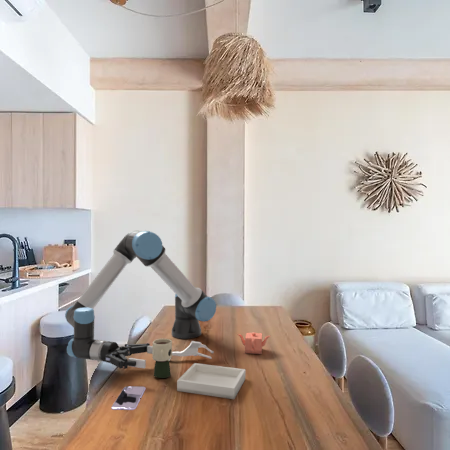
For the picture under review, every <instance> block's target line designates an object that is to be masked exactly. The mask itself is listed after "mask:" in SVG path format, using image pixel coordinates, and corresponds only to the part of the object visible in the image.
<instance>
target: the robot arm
mask: <svg viewBox="0 0 450 450" xmlns="http://www.w3.org/2000/svg"><path fill="white" fill-rule="evenodd" d="M162 241H163V240H162V239H161V237H160V236H159V235H158V234H157V233H154V232H153V231H149V230H132V231H130V232H128V233H127V234H125V236H124V237H123V238H122V239H121V240H120V241H119V243H118V244H117V245H116V247H115V248H114V249H113V251H112V252H113V254H112V255H111V257H110V259H108V261H107V262H106V264H105V265H104V266H103V267H102V269H100V271H99V273H97V275H96V277H94V278H93V280H92V281H91V283H90V284H89V285H88V287H87V288H86V289H85V291H84V292H83V293H82V294H81V296H80V297H79V298H78V300H76V302H75V303H74V304H73V305H71V306H70V307H68V308H67V309H66V310H65V313H64V315H65V316H64V317H65V320H66V322H67V323H68V324H69V325H70V326H71V327H72V328H73V338H70V340H69V341H68V343H67V346H66V353H67V355H68V356H69V357H71V358H76V359H83V360H90V361H97V362H98V363H99V362H104V363H107V364H112V366H115V367H117V368H119V369H126V370H127V369H128V367H132V368H139V369H146V367H147V363H146V361H147V359H140V358H133V357H129V356H132V355H135V354H141V353H142V354H143V353H144V354H145V353H147V354H151V355H153V345H150V342H147V343H131V344H130V343H125V344H124V345H121V346H119V344H118V343H117V342H116V341H108V340H102V339H95V318H96V317H95V310H94V309H95V307H96V306H97V305H98V304H99V302H100V301H101V300H102V298H103V297H104V295H105V294H106V292H108V290H109V289H110V287H111V286H112V285H113V284H114V282H115V281H116V280H117V278H118V277H119V275H120V274H121V273H122V271H124V269H125V268H126V266H127V265H128V264H129V265H130V264H131V263H132V262H133V261H134V259H136V258H137V260H139V261H140V262H141V263H142V264H143V265H144V266H145V267H146V268H147V267H150V268H151V269H152V270H153V271H154V272H155V273H156V274H157V275H158V277H160V278H161V280H163V282H164V283H165V284H166V285H167V286H168V287H169V288H170V289H171V290H172V291H173V292H174V293H175V294H174V295H175V296H174V312H175V313H174V317H175V318H174V322H173V325H172V328H171V336H172V337H173V338H176V339H186V340H187V339H195V338H198V337H200V336H202V328H201V324H200V322H208V321H210V320H212V319H213V317H214V316H215V314H216V311H217V302H216V300H215V299H214V298H212V297H211V296H208V295H207V294H206V293H205V292H204V291H203V289H201V287H196V286H195V285H194V284H193V283H192V282H191V281H190V279H188V277H186V275H185V274H184V273H183V272H182V271H181V269H179V268H178V266H177V265H176V263H174V262H173V261H172V259H171V258H170V257H169V256H168V255H167V254H166V247H164V245H163V242H162ZM128 357H129V358H128Z"/></svg>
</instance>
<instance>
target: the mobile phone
mask: <svg viewBox="0 0 450 450" xmlns="http://www.w3.org/2000/svg"><path fill="white" fill-rule="evenodd" d="M145 391H146V387H145V386H136V385H135V386H133V385H132V386H131V385H130V386H128V385H126V386H124V387H123V388H122V389H121V391H120V393H119V394H118V395H117V396H118V397H117V398H115V399H116V400H115V401H114V402H113V404H112V406H111V408H110V409H111V410H113V411H117V410H118V411H122V410H123V411H134V410H136V409H137V407H138V405H139V403H140V401H141V399H142V397H143V395H144V393H145ZM140 398H141V399H140Z"/></svg>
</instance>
